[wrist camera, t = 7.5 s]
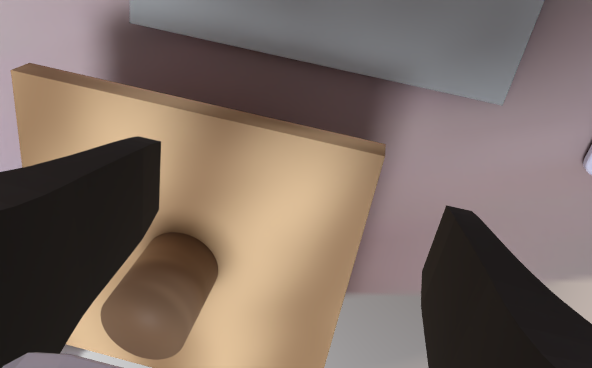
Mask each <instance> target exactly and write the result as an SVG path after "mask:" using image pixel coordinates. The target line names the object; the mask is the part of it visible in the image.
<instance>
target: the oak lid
mask: <svg viewBox="0 0 592 368" xmlns="http://www.w3.org/2000/svg"><path fill="white" fill-rule="evenodd" d="M11 76H12V84H13V93H14V101H15V109H16V118H17V126H18V134H19V143H20V151H21V160H22V168H23V167H28V166H32V165H36V164H39V163H43V162H47V161H51V160H54V159H58V158H62V157H66V156H69V155H73V154H76V153H79V152H82V151H86V150H89V149H92V148H96V147H99V146H102V145H105V144H109V143H112V142H115V141H119V140H123V139H127V138H131V137H137V136H139V137H144V138H148V139H153V140H157V141H161V163H160V196H159V211H158V213H157V215H156V216H155V218H154V220H153V222H152V224H151V226H150V227H149V229H148V231H147V232H146V234H145V236H144V238H143V239H142V241H141V242H140V243H139V245H138V246H137V247H136V248H135V250H134V251H133V252H132V254H131V255H130V256H129V257H128V259H127V260H126V261H125V263H124V264H123V265H122V266H121V268H120V269H119V270H118V271H117V273H116V274H115V275H114V276H113V278H112V279H111V280H110V281H109V283H108V284H107V285H106V286H105V288H104V289H103V290H102V291H101V293H100V294H99V295H98V296H97V298H96V299H95V300H94V302H93V303H92V304H91V306H90V307H89V308H88V310H87V311H86V313H85V314H84V315H83V317H82V318H81V320H80V322H79V323H78V325H77V326H76V328H75V330H74V331H73V333H72V334H71V336H70V338H69V339H68V341H67V342H66V344H67V345H71V346H75V347H78V348H82V349H86V350H89V351H93V352H97V353H101V354H104V355H108V356H111V357H115V358H119V359H122V360H126V361H130V362H134V363H137V364H141V365H145V366H148V367H152V368H324V366H325V362H326V359H327V355H328V352H329V348H330V345H331V341H332V338H333V334H334V331H335V328H336V324H337V321H338V317H339V314H340V310H341V307H342V303H343V300H344V297H345V293H346V290H347V286H348V283H349V279H350V276H351V272H352V269H353V265H354V262H355V258H356V255H357V251H358V248H359V244H360V241H361V238H362V234H363V231H364V227H365V224H366V220H367V217H368V213H369V210H370V206H371V203H372V199H373V196H374V192H375V189H376V186H377V182H378V179H379V175H380V172H381V168H382V165H383V161H384V158H385V144H382V143H378V142H374V141H369V140H365V139H361V138H356V137H352V136H347V135H343V134H339V133H334V132H330V131H326V130H321V129H317V128H312V127H308V126H304V125H299V124H295V123H291V122H286V121H282V120H277V119H273V118H269V117H264V116H260V115H256V114H251V113H247V112H242V111H238V110H234V109H229V108H225V107H221V106H216V105H212V104H207V103H203V102H199V101H194V100H190V99H186V98H181V97H177V96H173V95H168V94H164V93H159V92H155V91H151V90H146V89H142V88H138V87H133V86H129V85H124V84H120V83H116V82H111V81H107V80H103V79H98V78H94V77H89V76H85V75H81V74H76V73H72V72H68V71H63V70H59V69H54V68H50V67H46V66H41V65H37V64H33V63H28V64H25V65H23V66H20V67H18V68H15V69H12V70H11Z"/></svg>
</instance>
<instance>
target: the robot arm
mask: <svg viewBox="0 0 592 368" xmlns="http://www.w3.org/2000/svg"><path fill="white" fill-rule="evenodd" d="M160 163H161V141H157V140H153V139H148V138H144V137H139V136H137V137H131V138H127V139H123V140H119V141H115V142H112V143H109V144H105V145H102V146H99V147H96V148H92V149H89V150H86V151H82V152H79V153H76V154H73V155H69V156H66V157H62V158H58V159H54V160H51V161H47V162H43V163H39V164H36V165H32V166H28V167H23V168H19V169H14V170H9V171H4V172H0V368H121V367H118V366H114V365H110V364H106V363H102V362H98V361H94V360H91V359H87V358H83V357H79V356H75V355H71V354H60V352H61V350H62V349H63V347H64V346H65V344H66V342H67V341H68V339H69V338H70V336H71V334H72V333H73V331H74V330H75V328H76V326H77V325H78V323H79V322H80V320H81V318H82V317H83V315H84V314H85V313H86V311H87V310H88V308H89V307H90V306H91V304H92V303H93V302H94V300H95V299H96V298H97V296H98V295H99V294H100V293H101V291H102V290H103V289H104V288H105V286H106V285H107V284H108V283H109V281H110V280H111V279H112V278H113V276H114V275H115V274H116V273H117V271H118V270H119V269H120V268H121V266H122V265H123V264H124V263H125V261H126V260H127V259H128V257H129V256H130V255H131V254H132V252H133V251H134V250H135V248H136V247H137V246H138V245H139V243H140V242H141V241H142V239H143V238H144V236H145V234H146V232H147V231H148V229H149V227H150V226H151V224H152V222H153V220H154V218H155V216H156V215H157V213H158V211H159V196H160ZM583 166H584V168H585V170H586V171H587V172H588V173H589V174H591V175H592V145H591V147H590V149H589V151H588V153H587V155H586V157H585V159H584V162H583ZM421 309H422V318H423V325H424V335H425V342H426V350H427V358H428V366H429V368H592V324H591V323H590V322H588V321H587V320H586V319H584V318H583V317H582V316H581V315H579V314H578V313H577V312H576V311H574V310H573V309H572V308H571V307H569V306H568V305H567V304H566V303H564V302H563V301H562V300H561V299H559V298H558V297H557V296H556V295H555V294H554V293H553V292H551V291H550V290H549V289H548V288H547V287H546V286H545V285H544V284H543V283H542V282H541V281H540V280H539V279H537V278H536V277H535V276H534V275H533V274H532V273H531V272H530V271H529V270H528V269H527V268H526V267H525V266H524V265H523V264H522V263H521V262H520V261H519V260H518V259H517V258H516V257H515V256H514V255H513V254H512V253H511V252H510V251H509V250H508V248H507V247H506V246H505V245H504V244H503V243H502V242H501V241H500V240H499V239H498V238H497V237H496V235H495V234H494V233H493V232H492V231H491V230H490V229H489V228H488V227H487V226H486V225H485V224H484V223H483V221H482V220H481V219H480V218H479V217H478V216H477V215H476V214H474V213H473V212H472V211H469V210H464V209H460V208H455V207H451V206H446V208H445V211H444V213H443V216H442V219H441V221H440V224H439V227H438V230H437V232H436V235H435V238H434V240H433V243H432V246H431V249H430V251H429V254H428V257H427V259H426V262H425V265H424V268H423V270H422V288H421Z"/></svg>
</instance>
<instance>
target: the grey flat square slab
mask: <svg viewBox="0 0 592 368" xmlns="http://www.w3.org/2000/svg"><path fill="white" fill-rule="evenodd" d="M544 1H545V0H130V23H132V24H137V25H141V26H146V27H150V28H155V29H159V30H164V31H168V32H173V33H177V34H182V35H186V36H191V37H195V38H200V39H204V40H209V41H213V42H218V43H222V44H227V45H231V46H236V47H240V48H245V49H249V50H254V51H258V52H263V53H267V54H272V55H276V56H281V57H286V58H290V59H295V60H299V61H304V62H308V63H313V64H317V65H322V66H326V67H331V68H335V69H340V70H344V71H349V72H353V73H358V74H362V75H367V76H371V77H376V78H380V79H385V80H389V81H394V82H398V83H403V84H407V85H412V86H416V87H421V88H425V89H430V90H434V91H439V92H443V93H448V94H452V95H457V96H461V97H466V98H470V99H475V100H479V101H484V102H488V103H493V104H497V105H502V106H503V103H504V101H505V98H506V96H507V93H508V91H509V88H510V86H511V83H512V81H513V78H514V76H515V73H516V71H517V68H518V66H519V63H520V61H521V58H522V56H523V53H524V51H525V48H526V46H527V43H528V41H529V38H530V36H531V33H532V31H533V28H534V26H535V23H536V21H537V18H538V16H539V13H540V11H541V8H542V6H543V3H544Z"/></svg>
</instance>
